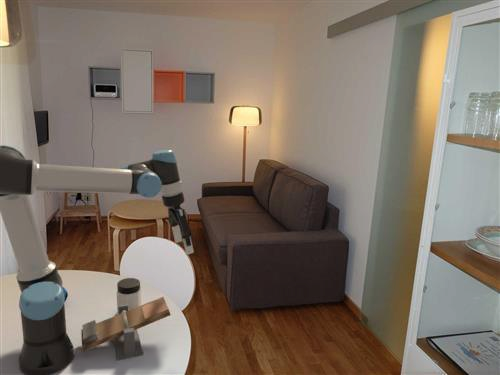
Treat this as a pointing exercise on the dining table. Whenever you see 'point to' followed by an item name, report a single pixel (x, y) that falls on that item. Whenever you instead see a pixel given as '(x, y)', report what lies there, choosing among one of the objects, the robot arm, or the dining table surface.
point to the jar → (129, 293)
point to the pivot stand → (127, 341)
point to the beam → (122, 323)
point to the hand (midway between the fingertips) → (184, 247)
